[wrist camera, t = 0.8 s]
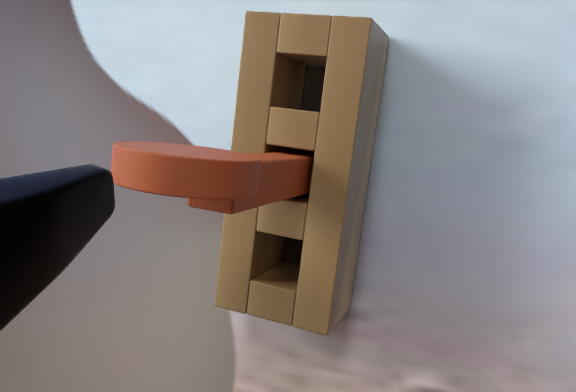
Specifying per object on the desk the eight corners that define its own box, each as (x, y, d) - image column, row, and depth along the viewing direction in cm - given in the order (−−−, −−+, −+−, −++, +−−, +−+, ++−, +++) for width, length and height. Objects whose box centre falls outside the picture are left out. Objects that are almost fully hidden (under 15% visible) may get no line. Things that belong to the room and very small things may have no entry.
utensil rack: (250, 284, 28) (214, 306, 24) (279, 29, 26) (245, 10, 22) (350, 308, 26) (327, 336, 22) (389, 36, 24) (371, 17, 20)
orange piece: (352, 192, 25) (211, 244, 12) (275, 178, 27) (74, 213, 14) (357, 152, 25) (219, 163, 12) (280, 141, 26) (79, 140, 13)
